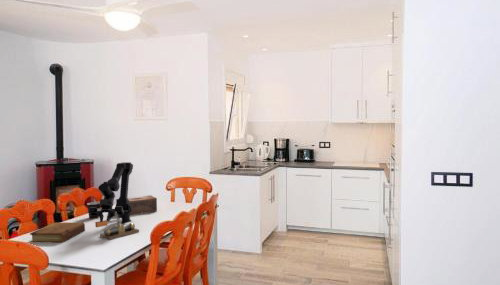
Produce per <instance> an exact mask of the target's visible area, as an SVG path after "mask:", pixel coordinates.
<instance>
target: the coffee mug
mask: <svg viewBox="0 0 500 285" xmlns="http://www.w3.org/2000/svg"><path fill="white" fill-rule="evenodd" d="M99 203H100V201H94V202H93V201H92V202H88V203H86V207H87V212H88V210H89V208H90V207H97V209H101V207H100V206H101V205H99ZM88 218H89V219H93V220H95V219H100V217H98V215H97V216H91V215H90V213H89V212H88Z"/></svg>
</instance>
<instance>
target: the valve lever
mask: <svg viewBox="0 0 500 285" xmlns="http://www.w3.org/2000/svg"><path fill="white" fill-rule="evenodd" d="M121 222H122V218H118V217H117V218H116V219H112V220H110V221H107V220H106V219H105V220H104V219H103V221H100V220H99V221H95V222H94V224H95V225H94V226H95V228H101V227H106V226H108V225H109V224H115V223H121ZM121 224H122V223H121Z"/></svg>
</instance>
